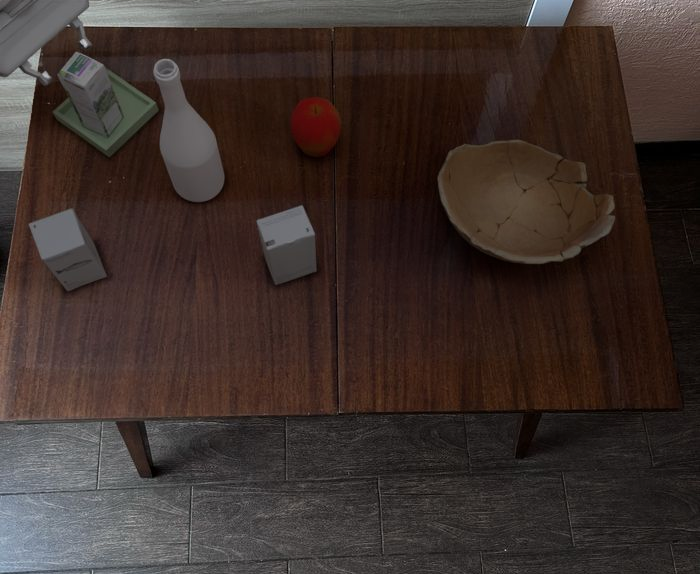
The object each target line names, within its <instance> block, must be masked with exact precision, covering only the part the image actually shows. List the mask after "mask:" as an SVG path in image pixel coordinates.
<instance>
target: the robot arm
mask: <svg viewBox="0 0 700 574" xmlns="http://www.w3.org/2000/svg"><path fill="white" fill-rule="evenodd" d="M89 8H90V0H0V78H8V77H9V76H10V75H12V74H13V73H14V72H15V71H16V70H18V69H20V71H21V72H22V73H23V74H25V75H27V76H30V77H33V78H35V79H37V80H38V81H39V82H40V83H41V84H42V85H43V86H44V87H47V86H49V84H51V82H52V81H53V80H54V79H53V77H52V76H50V75H49V73H48V72H47V71H46V70H44V71H43V72H39V71H37V70H35V69H32V67H33V65H32V64H31V62H30V61H29V59H30V58H32V57H33V56H34V55H35V54H36V53H38V51H40V50H41V49H42V48H44V47H45V46H46V45H47V44H48V43H49V42H50V41H52V40H53V38H55V37H56V36H57V35H58V34H60V33H61V32H62V31H63V30H64V29H65V28H67V27H68V26H69V27H70V28H71V30H72V31H73V30H76V34H77V37H78V41H77V42H76V44H77V45H78V47H80V49H81V51H83V52H87V51H88V50H89V49H90V48H91V47H93V44H92V42H91V41H90V40H89V39H88V37H87V36H86V30H85V27H84V23H83V22H82V20H80V18H79V16H80V15H82V14H83V13H84V12H85V11H86V10H88V9H89Z"/></svg>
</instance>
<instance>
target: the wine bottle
mask: <svg viewBox="0 0 700 574" xmlns="http://www.w3.org/2000/svg"><path fill="white" fill-rule="evenodd" d="M152 72H153V76H154V79H155V81H156V83H157V85H158V87H159V90H160V93H161V97H162V101H163V105H164V111H163V112H164V113H163V118H162V123H161V130H160V134H159V150H160V154H161V157H162V159H163V162H164V165H165V168H166V170H167V173H168V176H169V177H170V178H169V179H170V181H171V184H172V187H173V189H174V191H175V192H176V193H177V195H179V196H180V197H181V198H183V200H186V201H189V202H193V203H204V202H207V201H210V200H212V199H214V198H215V197H216V196H218V195H219V193H220V192H221V191H222V189H223V187H224V185H225V171H224V167H223V163H222V158H221V154H220V151H219V150H220V149H219V146H218V142H217V138H216V135H215V132H214V131H213V129H212V128H211V127H210V126H209V124H208V123H207V122H206V120H204V119H203V118H202V117H201V116H200V114H199V113H198V111H196V109H194V108H193V106H191V104H190V103H189V101H188V100H187V98H186V95H185V90H184V88H183V85H182V81H181V72H180V69H179V66H178V64H177V63H176V62H175V61H174V60H172V59H169V58H162V59H159V60H158V61H156V63H154V67H153V71H152Z"/></svg>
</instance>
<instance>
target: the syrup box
mask: <svg viewBox="0 0 700 574" xmlns="http://www.w3.org/2000/svg"><path fill="white" fill-rule="evenodd" d="M105 68H106V66H105V65H104V64H103V63H101V62H99V61H97V60H96V59H93V58H92V57H90V56H87V55H86V54H83V53H81V52H79V51H75V52H74V54H73V55H72V56H71V57H70V58H69V60H68V61H67V62H66V63H65V64H64V66H63V67H61V69H60V70H59V72H58V73H57V74H56V75H57V77H58V79H59V82H60V83H61V85H62V88H63V89H64V91H65V93H66V96H67V98H69V100H70V102H71V104H72V106H73V108H74V110H75V112H76V114H77V116H78V118H79V120H80V122H81V124H82V126H83V127H85V128H87V129H89V130H92V131H94V132H96V133H98V134H100V135H102V136H104V137H106V138H108V137H109V136H110V135H111V133H112V132H113V131H114V129H115V128H116V127H117V125H118V124H119V123H120V122H121V120H122V119H123V118H124V115H123V113H122V110H121V108H120V105H119V103H118V100H117V97H116V95H115V92H114V90H113V87H112V85H111V82H110V79H109V77H108V74H107V72H106V69H105Z"/></svg>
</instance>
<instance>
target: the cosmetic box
mask: <svg viewBox="0 0 700 574" xmlns="http://www.w3.org/2000/svg"><path fill="white" fill-rule="evenodd" d="M256 226H257V231H258V234H259V239H260V241H261V247H262V252H263V256H264V260H265V263H266V265H267V268H268V270H269V274H270V276H271V278H272V281H273V284H274V285H275V286H278V285H281V284H283V283H286V282H290V281H293V280H296V279H298V278H303V277H304V276H307V275H309V274H313V273H317V272H318V268H317V253H316V233H315V230H314V228H313V226H312V224H311V221H310V218H309V217H308V214H307V212H306V210H305V208H304V206H303V205H299V206H295V207H292V208H290V209H287V210H286V209H285V210H283V211H280V212H278V213H274V214H271V215H268V216H265V217H262V218H259V219H256Z"/></svg>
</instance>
